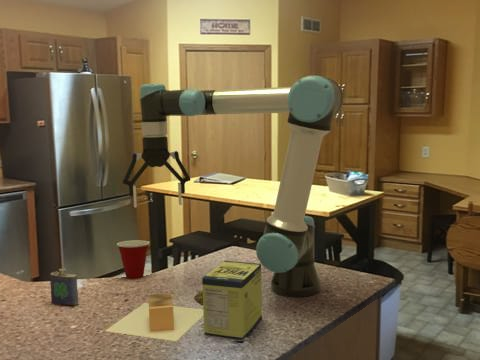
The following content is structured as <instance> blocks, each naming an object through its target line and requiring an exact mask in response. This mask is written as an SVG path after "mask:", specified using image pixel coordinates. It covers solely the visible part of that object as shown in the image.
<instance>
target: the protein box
mask: <svg viewBox="0 0 480 360" xmlns="http://www.w3.org/2000/svg"><path fill="white" fill-rule="evenodd" d="M201 279H202V291H203V309H202V310H203V313H204V316H203V332H204V336H205V335H207V336H211V337H217V338H224V339H225V338H226V339H232V340H233V339H234V340H235V341H233V343H237V344H244V342H246V340H245V338H249V336H250V335H251V333H253V331H254V330H255V329H256V328H257V327H258V325H259V324H260V323H261V322H262V321H263V304H262V303H263V302H262V301H263V299H262V298H263V295H262V293H263V291H262V289H263V288H262V264H261V263H255V262H244V261H243V262H242V261H233V260H223V262H222V263H220V264H219V265H218V266H216V267H215V268H214V269H212V270H210V272H208V273H206V274H205V275H204V276H203V277H201Z"/></svg>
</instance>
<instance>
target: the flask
mask: <svg viewBox="0 0 480 360" xmlns="http://www.w3.org/2000/svg"><path fill="white" fill-rule="evenodd" d="M66 270H67V269H66V268H59V269H58V271H53V272H51V273H50V274H49V279H50V280H49V281H50V297H51V301H50V303H51V304H52V305H57V306H64V307H67V306H68V307H77V306H78V305H79V293H78V292H79V291H78V290H79V289H78V276H77V274H74V273H73V274H71V273H69V274H68V273H66Z"/></svg>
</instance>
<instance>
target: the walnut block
mask: <svg viewBox="0 0 480 360" xmlns="http://www.w3.org/2000/svg"><path fill="white" fill-rule="evenodd" d="M172 297H173V296H172V293H171V292H169V293H168V292H167V293H157V294H156V293H155V294H148V303H149V321H150V332H153V331H163V330H174V314H173V306H174V303H173V298H172Z"/></svg>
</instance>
